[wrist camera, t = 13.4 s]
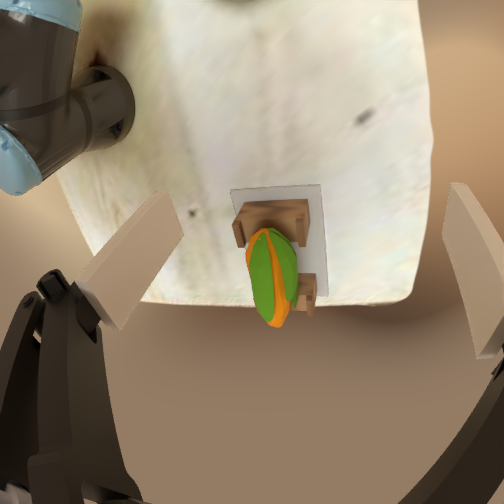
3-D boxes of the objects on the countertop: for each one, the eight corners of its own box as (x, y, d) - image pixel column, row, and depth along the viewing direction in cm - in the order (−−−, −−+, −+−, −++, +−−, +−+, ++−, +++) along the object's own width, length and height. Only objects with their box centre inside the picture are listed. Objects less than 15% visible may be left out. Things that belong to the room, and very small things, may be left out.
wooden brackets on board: (266, 285, 59) (257, 313, 53) (245, 199, 47) (231, 225, 42) (317, 286, 55) (313, 316, 50) (308, 196, 44) (302, 222, 39)
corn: (288, 253, 34) (295, 349, 46) (301, 217, 40) (304, 314, 52) (229, 247, 37) (251, 341, 49) (249, 214, 42) (265, 308, 54)
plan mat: (258, 292, 61) (258, 294, 60) (230, 189, 47) (229, 191, 47) (328, 294, 56) (328, 296, 56) (319, 184, 42) (319, 186, 42)
